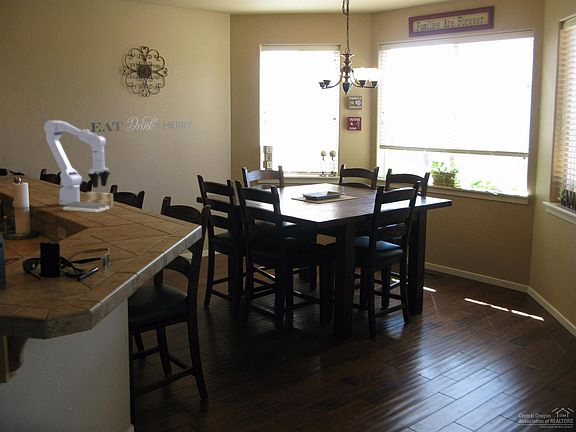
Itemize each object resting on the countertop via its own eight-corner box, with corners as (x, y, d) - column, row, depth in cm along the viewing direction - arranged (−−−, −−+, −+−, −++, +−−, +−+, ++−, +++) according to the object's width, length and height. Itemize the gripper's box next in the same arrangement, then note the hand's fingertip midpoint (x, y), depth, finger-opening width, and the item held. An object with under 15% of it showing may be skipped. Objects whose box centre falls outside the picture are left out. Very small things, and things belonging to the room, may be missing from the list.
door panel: (86, 205, 306) (86, 192, 305) (89, 205, 308) (88, 191, 307) (111, 207, 303) (110, 193, 302) (113, 207, 305) (113, 193, 304)
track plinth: (63, 209, 290) (62, 203, 290) (77, 206, 302) (77, 200, 301) (95, 212, 286) (95, 206, 286) (109, 208, 297) (109, 202, 297)
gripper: (97, 161, 294) (98, 188, 296) (113, 159, 308) (114, 185, 310) (85, 160, 295) (86, 187, 298) (101, 159, 309) (102, 185, 311)
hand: (99, 186), depth 304 cm, fingers open, 7 cm apart
